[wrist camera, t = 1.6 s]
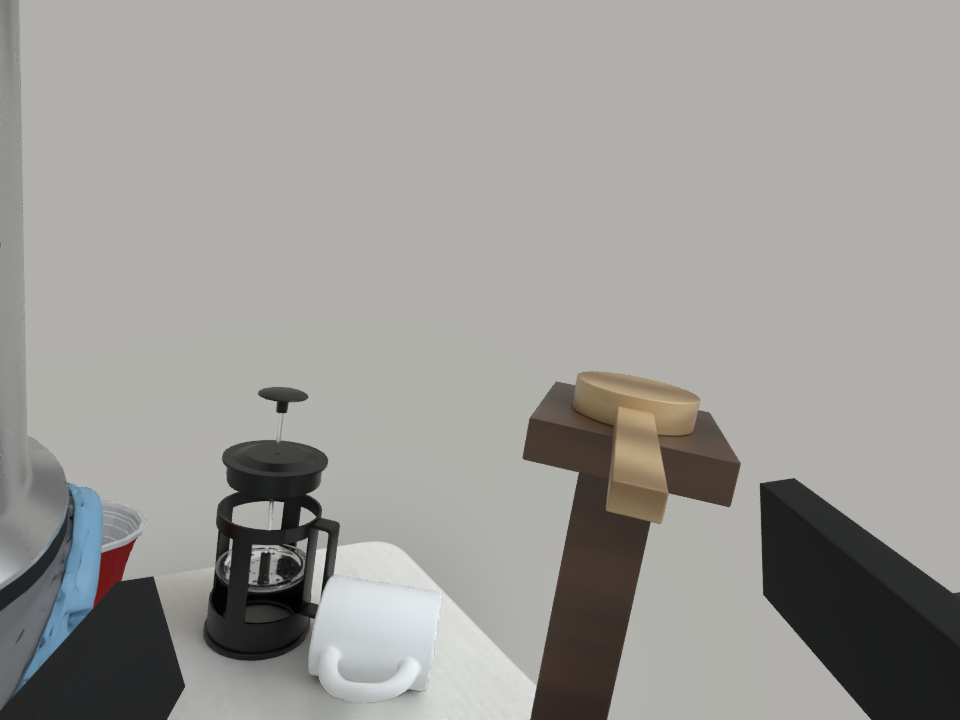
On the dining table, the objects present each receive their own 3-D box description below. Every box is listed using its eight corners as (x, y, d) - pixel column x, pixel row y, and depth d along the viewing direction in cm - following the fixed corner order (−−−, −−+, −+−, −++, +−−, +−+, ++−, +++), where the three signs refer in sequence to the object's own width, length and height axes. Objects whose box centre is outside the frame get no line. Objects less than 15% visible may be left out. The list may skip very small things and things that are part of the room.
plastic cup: (167, 635, 54) (177, 509, 52) (58, 721, 43) (66, 567, 41) (65, 602, 56) (71, 480, 54) (-62, 677, 45) (-60, 528, 44)
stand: (610, 1058, 30) (756, 469, 25) (418, 975, 32) (516, 417, 27) (615, 853, 40) (718, 412, 35) (471, 801, 42) (548, 378, 37)
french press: (173, 641, 53) (194, 388, 49) (234, 587, 62) (256, 370, 58) (297, 677, 51) (329, 417, 47) (341, 616, 60) (371, 394, 57)
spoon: (743, 545, 17) (756, 491, 17) (531, 493, 18) (540, 442, 18) (687, 416, 33) (693, 387, 32) (576, 393, 34) (582, 365, 34)
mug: (327, 636, 57) (337, 558, 56) (432, 651, 57) (444, 574, 56) (286, 735, 45) (298, 639, 44) (419, 754, 46) (434, 659, 44)
